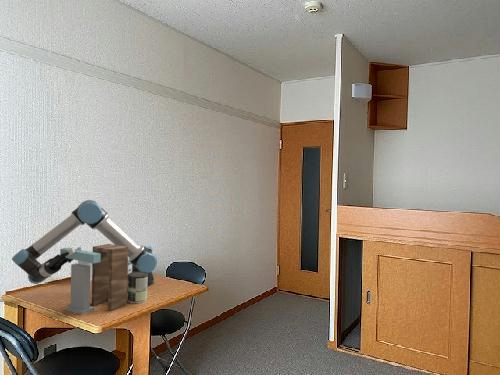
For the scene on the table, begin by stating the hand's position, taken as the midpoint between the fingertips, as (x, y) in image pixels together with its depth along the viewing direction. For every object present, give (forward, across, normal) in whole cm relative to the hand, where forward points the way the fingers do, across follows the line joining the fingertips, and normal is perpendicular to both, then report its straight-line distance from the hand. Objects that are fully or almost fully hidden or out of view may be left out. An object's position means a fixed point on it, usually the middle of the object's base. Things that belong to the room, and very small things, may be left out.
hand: (77, 249), depth 182 cm
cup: (-49, -37, -6) cm, 61 cm away
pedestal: (-13, 0, -27) cm, 30 cm away
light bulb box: (-45, -63, -8) cm, 78 cm away
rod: (-1, 0, -5) cm, 5 cm away
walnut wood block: (-7, -12, -30) cm, 33 cm away
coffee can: (-2, -26, -33) cm, 42 cm away
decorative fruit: (-15, -34, -26) cm, 45 cm away
